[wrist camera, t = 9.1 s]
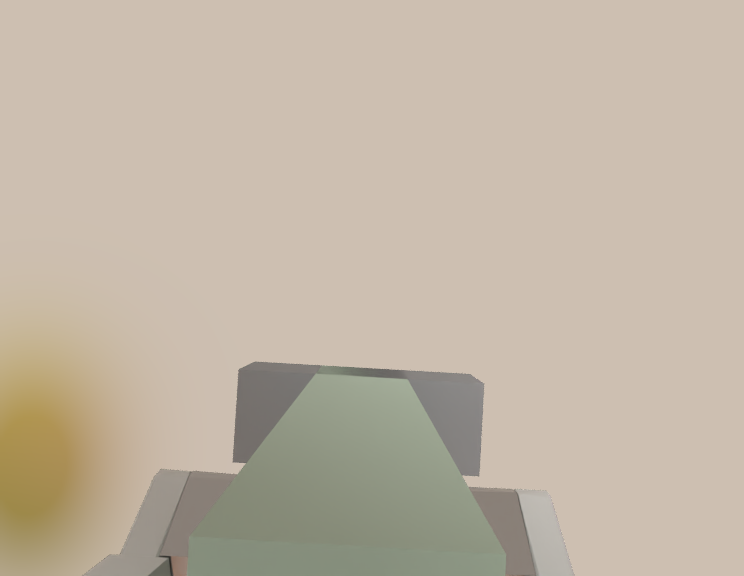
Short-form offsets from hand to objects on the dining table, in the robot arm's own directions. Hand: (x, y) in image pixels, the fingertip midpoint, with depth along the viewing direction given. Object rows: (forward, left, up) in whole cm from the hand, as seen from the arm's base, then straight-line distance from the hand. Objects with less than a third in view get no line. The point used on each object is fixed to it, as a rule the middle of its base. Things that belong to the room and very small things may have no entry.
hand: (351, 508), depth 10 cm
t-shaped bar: (-2, +4, -2) cm, 5 cm away
